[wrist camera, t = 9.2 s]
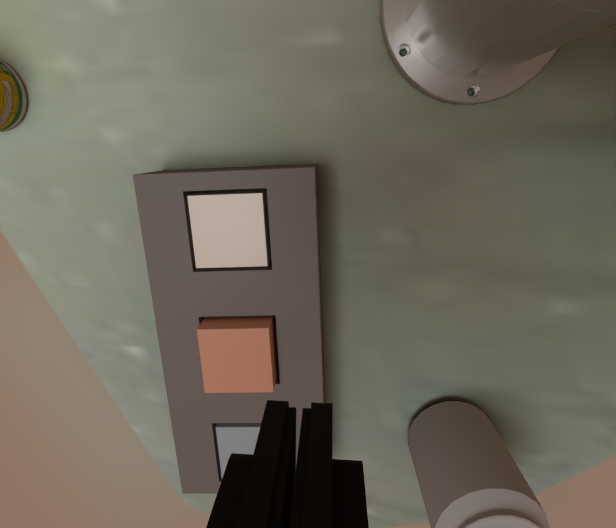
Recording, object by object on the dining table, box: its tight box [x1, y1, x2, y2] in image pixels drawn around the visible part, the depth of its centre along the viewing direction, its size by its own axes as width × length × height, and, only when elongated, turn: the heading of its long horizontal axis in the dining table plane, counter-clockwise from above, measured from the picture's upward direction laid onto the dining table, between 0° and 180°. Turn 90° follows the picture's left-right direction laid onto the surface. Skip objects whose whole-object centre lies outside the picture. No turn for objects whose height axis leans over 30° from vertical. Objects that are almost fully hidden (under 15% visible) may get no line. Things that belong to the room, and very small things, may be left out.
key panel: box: [133, 164, 325, 493], centre depth 33 cm, size 26×12×5 cm, turn 2°
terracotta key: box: [197, 315, 279, 393], centre depth 31 cm, size 5×5×4 cm
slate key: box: [216, 423, 261, 478], centre depth 35 cm, size 5×5×4 cm
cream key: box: [187, 188, 271, 268], centre depth 30 cm, size 5×5×4 cm
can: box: [408, 401, 549, 528], centre depth 31 cm, size 8×8×12 cm
